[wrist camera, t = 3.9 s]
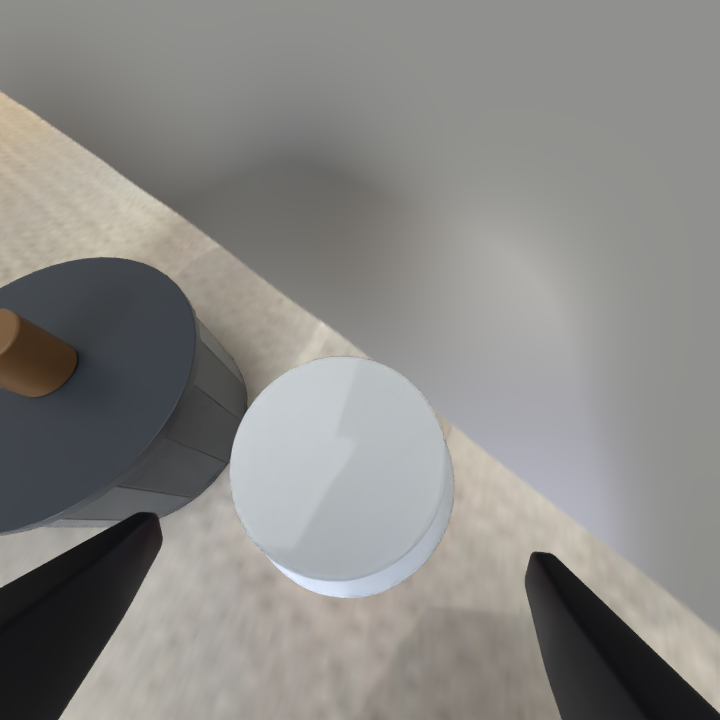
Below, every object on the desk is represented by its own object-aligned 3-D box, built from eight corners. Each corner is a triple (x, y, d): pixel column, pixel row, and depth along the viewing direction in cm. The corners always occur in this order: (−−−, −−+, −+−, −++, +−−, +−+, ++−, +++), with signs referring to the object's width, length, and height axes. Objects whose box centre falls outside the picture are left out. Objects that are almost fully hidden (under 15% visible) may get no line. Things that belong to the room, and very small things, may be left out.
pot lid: (247, 430, 13) (202, 397, 10) (-92, 610, 11) (-293, 645, 8) (169, 240, 18) (122, 175, 14) (-76, 338, 16) (-194, 290, 12)
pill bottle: (302, 575, 16) (168, 661, 6) (297, 443, 18) (201, 345, 8) (434, 557, 16) (531, 611, 6) (410, 427, 18) (446, 312, 8)
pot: (276, 455, 18) (229, 422, 12) (67, 571, 16) (-103, 595, 10) (213, 310, 23) (157, 237, 17) (44, 387, 21) (-83, 334, 15)
